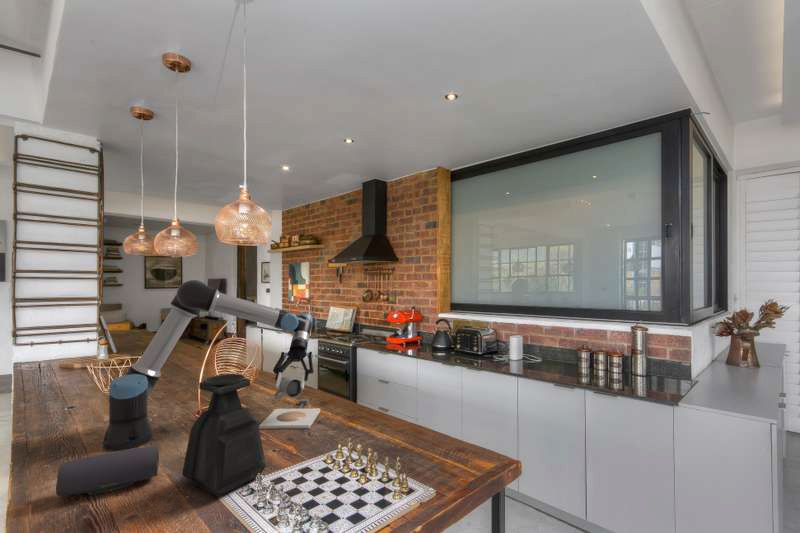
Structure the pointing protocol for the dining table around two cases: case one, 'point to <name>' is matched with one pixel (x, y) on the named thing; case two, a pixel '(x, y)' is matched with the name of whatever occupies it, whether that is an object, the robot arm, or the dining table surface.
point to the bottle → (224, 439)
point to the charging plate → (291, 417)
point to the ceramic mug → (289, 388)
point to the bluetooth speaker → (107, 471)
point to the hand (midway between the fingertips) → (289, 387)
